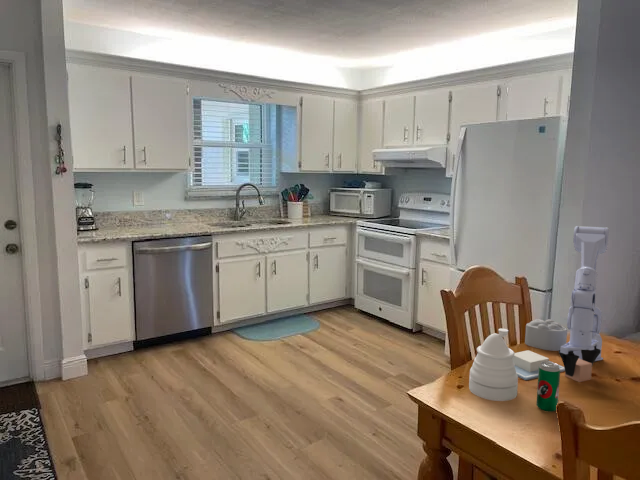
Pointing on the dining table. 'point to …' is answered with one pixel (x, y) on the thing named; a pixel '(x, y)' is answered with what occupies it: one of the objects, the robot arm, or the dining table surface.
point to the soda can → (548, 386)
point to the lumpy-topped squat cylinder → (545, 335)
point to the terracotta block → (581, 371)
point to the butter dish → (529, 364)
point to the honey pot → (494, 370)
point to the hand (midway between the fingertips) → (578, 372)
